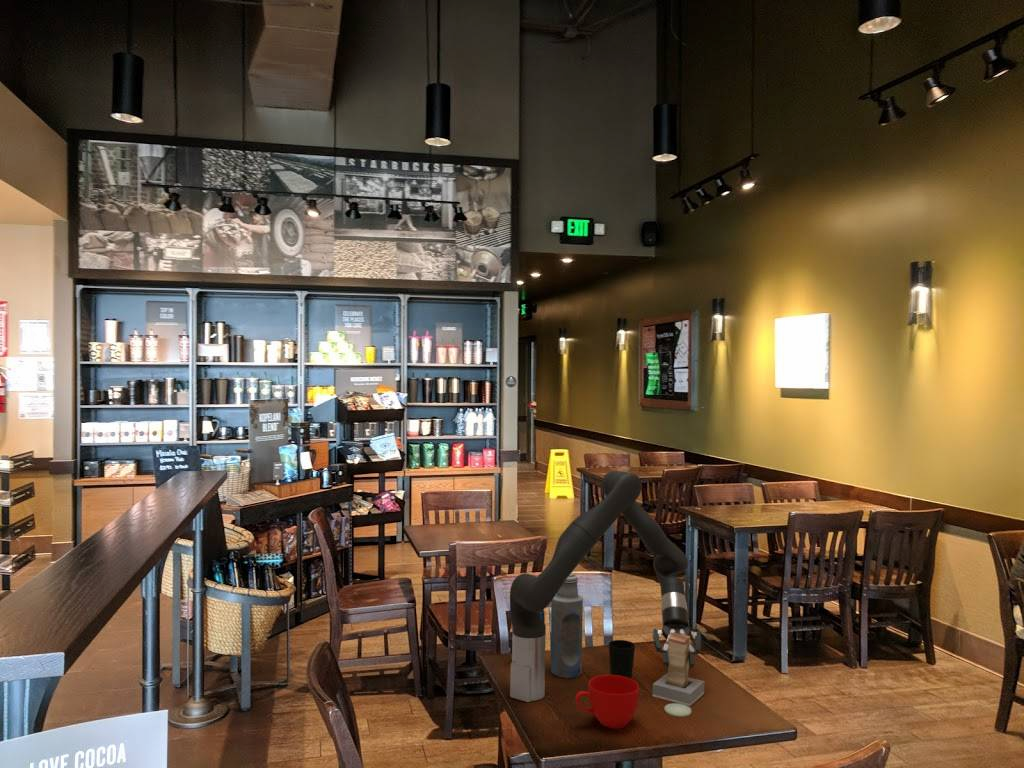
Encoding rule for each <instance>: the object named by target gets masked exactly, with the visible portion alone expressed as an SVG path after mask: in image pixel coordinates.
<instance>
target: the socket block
mask: <svg viewBox="0 0 1024 768" xmlns="http://www.w3.org/2000/svg"><path fill="white" fill-rule="evenodd" d="M667 680H668V672H667V673H665V674H664V675H662V677H660V678H659V679H657V680H656V681H655V682H654V683H652V697H653V698H658V699H662V700H665V701H669V702H672V703H676V704H683V705H686V706H688V707H691V706H692V705H693V704H694V703H695V702H697V701H698V700H699V699H700V698H701V697H702V696H703V695H704V694H705V681H704V680H701V679H697V678H692V677H689V676H688V684H687V685H686V686H685V688H680V687H677V686H673V685H669V684H667Z"/></svg>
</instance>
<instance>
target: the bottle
mask: <svg viewBox="0 0 1024 768" xmlns="http://www.w3.org/2000/svg"><path fill="white" fill-rule="evenodd" d="M578 581H579V579H578V576H577V575H576V574H575V573H573V572H572V573H571V574H570V575H569V576H568V578H567V579H566V580H565V582H564V583H563V585H562V586H561V588H560V589H559V591H558V592H557V594H556V595H555V597H554V598H553V599H552V601H551V602H550V604H551V605H550V606H551V611H550V616H551V617H550V664H549V665H550V667H549V669H550V670H549V671H550V673H551V674H552V675H553V676H556V677H559V678H563V677H564V679H568V678H570V679H571V678H572V679H573V678H577V677H579V676H580V675H581V674H582V673H583V672H582V671H583V669H582V668H583V664H582V663H583V612H584V609H583V608H584V607H583V605H584V597H583V596H582V595H580V594H579V589H578Z"/></svg>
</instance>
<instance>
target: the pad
mask: <svg viewBox="0 0 1024 768" xmlns="http://www.w3.org/2000/svg"><path fill="white" fill-rule="evenodd" d="M664 711H665V713H666V714H668V715H670V716H672V717H679V718H685V717H689V716H690V715H692V708H691V707H690V706H687V705H683V704H680V703H676V702H672V703H668V704H666V705H664Z"/></svg>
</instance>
